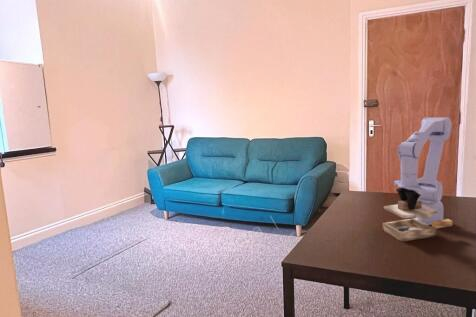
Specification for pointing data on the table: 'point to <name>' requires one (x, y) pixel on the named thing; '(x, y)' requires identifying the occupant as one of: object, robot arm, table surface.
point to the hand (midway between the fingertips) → (408, 207)
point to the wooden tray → (408, 229)
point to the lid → (405, 212)
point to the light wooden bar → (442, 223)
